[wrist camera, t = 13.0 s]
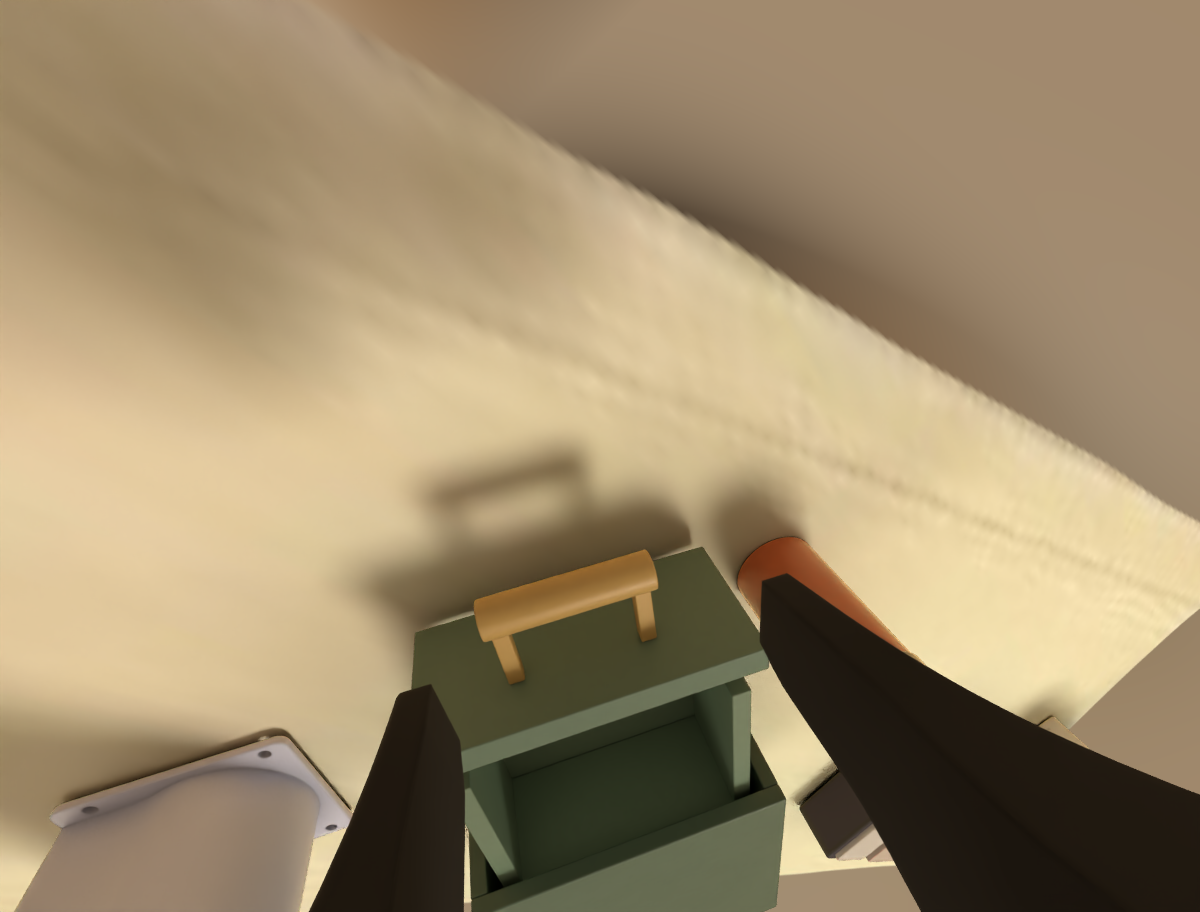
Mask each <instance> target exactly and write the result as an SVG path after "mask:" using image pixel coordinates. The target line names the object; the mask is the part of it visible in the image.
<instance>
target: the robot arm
mask: <svg viewBox="0 0 1200 912" xmlns="http://www.w3.org/2000/svg"><path fill="white" fill-rule="evenodd" d="M760 644H761V646H762V648H763V650H764V652H765V654H766V656H767V658H768V660H769V661H770V663H771V665H772V667H773V669H774V671H775V673H776V675H777V677H778V678H779V680H780V682H781V684H782V686H783V687H784V689H785V690H786V692H787V693H788V695H789V696H790V698H791V699H792V701H793V702H794V704H795V705H796V707H797V708H798V710H799V711H800V713H801V714H802V716H803V717H804V719H805V720H806V722H807V723H808V725H809V726H810V728H811V729H812V731H813V732H814V734H815V735H816V737H817V738H818V739H819V741H820V742H821V744H822V745H823V747H824V748H825V750H826V751H827V753H828V754H829V756H830V757H831V759H832V760H833V762H834V763H835V765H836V766H837V767H838V769H839V770H840V772H841V773H842V775H843V776H844V778H845V779H846V781H847V782H848V784H849V785H850V787H851V788H852V790H853V792H854V793H855V795H856V796H857V798H858V799H859V801H860V803H861V804H862V806H863V807H864V809H865V811H866V813H867V814H868V816H869V818H870V820H871V822H872V823H873V825H874V827H875V829H876V830H877V832H878V834H879V836H880V837H881V839H882V841H883V843H884V845H885V846H886V848H887V850H888V852H889V853H890V855H891V857H892V859H893V861H894V862H895V864H896V866H897V868H898V870H899V872H900V873H901V875H902V877H903V879H904V881H905V883H906V885H907V886H908V888H909V890H910V892H911V894H912V896H913V897H914V899H915V901H916V903H917V905H918V907H919V909H920V910H921V912H1200V795H1199V794H1197V793H1194V792H1191V791H1189V790H1186V789H1183V788H1181V787H1178V786H1176V785H1173V784H1171V783H1168V782H1166V781H1163V780H1161V779H1158V778H1156V777H1153V776H1151V775H1148V774H1146V773H1144V772H1141V771H1139V770H1136V769H1134V768H1131V767H1129V766H1127V765H1124V764H1122V763H1119V762H1117V761H1115V760H1112V759H1110V758H1108V757H1105V756H1103V755H1101V754H1098V753H1096V752H1094V751H1092V750H1090V749H1088V748H1085V747H1083V746H1081V745H1079V744H1077V743H1074V742H1072V741H1070V740H1068V739H1066V738H1063V737H1061V736H1059V735H1057V734H1055V733H1052V732H1050V731H1048V730H1046V729H1044V728H1041V727H1039V726H1037V725H1035V724H1033V723H1031V722H1029V721H1027V720H1025V719H1023V718H1021V717H1019V716H1017V715H1015V714H1013V713H1011V712H1009V711H1007V710H1005V709H1003V708H1001V707H999V706H997V705H995V704H993V703H991V702H989V701H988V700H986V699H984V698H982V697H980V696H978V695H976V694H974V693H972V692H971V691H969V690H967V689H965V688H963V687H962V686H960V685H958V684H956V683H955V682H953V681H951V680H949V679H948V678H946V677H944V676H942V675H941V674H939V673H937V672H936V671H934V670H932V669H931V668H929V667H927V666H926V665H924V664H922V663H921V662H919V661H917V660H916V659H914V658H912V657H911V656H909V655H907V654H906V653H904V652H903V651H901V650H899V649H898V648H896V647H895V646H893V645H892V644H890V643H889V642H887V641H885V640H884V639H882V638H881V637H879V636H878V635H876V634H875V633H873V632H872V631H870V630H869V629H867V628H866V627H864V626H863V625H861V624H860V623H858V622H857V621H855V620H854V619H852V618H851V617H849V616H848V615H846V614H845V613H844V612H842V611H841V610H839V609H838V608H836V607H835V606H833V605H832V604H831V603H829V602H828V601H826V600H825V599H824V598H822V597H821V596H819V595H818V594H816V593H815V592H814V591H812V590H811V589H809V588H808V587H807V586H805V585H804V584H802V583H801V582H800V581H798V580H797V579H795V578H794V577H792V576H791V575H789V574H788V573H785V574H782V575H779V576H776V577H772V578H769V579H766V580H763V581H762V586H761V615H760ZM50 820H51V821H52V822H53V823H54V824H56V825H57V826H59V827H60V828H62V829H61V831H60V833H59V835H58V836H57V838H56V840H55V842H54V843H53V845H52V847H51V849H50V850H49V852H48V854H47V855H46V857H45V859H44V861H43V862H42V864H41V866H40V868H39V869H38V871H37V873H36V875H35V876H34V878H33V880H32V882H31V883H30V885H29V887H28V889H27V890H26V892H25V894H24V895H23V897H22V899H21V901H20V902H19V904H18V906H17V908H16V909H15V911H14V912H300V906H301V901H302V896H303V891H304V886H305V881H306V876H307V871H308V866H309V860H310V855H311V850H312V845H313V840H314V839H315V838H318V837H321V836H323V835H326V834H329V833H332V832H335V831H338V830H341V829H344V828H346V827H347V830H346V832H345V834H344V837H343V839H342V841H341V843H340V845H339V848H338V850H337V852H336V854H335V857H334V859H333V861H332V863H331V865H330V868H329V870H328V872H327V874H326V876H325V879H324V881H323V883H322V885H321V887H320V890H319V892H318V894H317V896H316V898H315V900H314V902H313V904H312V906H311V908H310V910H309V912H464V855H465V788H464V776H463V765H462V754H461V744H460V739H459V737H458V735H457V733H456V731H455V730H454V728H453V726H452V724H451V722H450V720H449V718H448V716H447V714H446V712H445V710H444V708H443V706H442V704H441V702H440V700H439V698H438V696H437V694H436V693H435V691H434V689H433V687H432V685H431V684H428V685H425V686H422V687H418V688H415V689H412V690H409V691H406V692H402V693H400V694H399V695H398V697H397V698H396V701H395V704H394V707H393V710H392V713H391V716H390V718H389V721H388V724H387V727H386V730H385V733H384V736H383V738H382V741H381V744H380V747H379V749H378V752H377V755H376V757H375V760H374V763H373V765H372V768H371V771H370V773H369V776H368V778H367V781H366V783H365V786H364V788H363V791H362V793H361V796H360V798H359V801H358V803H357V805H356V808H355V810H354V813H352V812H351V811H350V810H349V809H348V807H347V806H346V805H345V804H344V803H343V801H342V800H341V799H340V798H339V797H338V796H337V794H336V793H335V792H334V791H333V790H332V788H331V787H330V786H329V785H328V784H327V782H326V781H325V780H324V779H323V778H322V777H321V775H320V774H319V773H318V772H317V771H316V769H315V768H314V767H313V766H312V765H311V764H310V762H309V761H308V760H307V759H306V758H305V756H304V755H303V754H302V753H301V752H300V750H299V749H298V748H297V747H296V746H295V745H294V743H293V742H292V741H291V740H290V739H289V738H288V737H285V736H275V737H271V738H268V739H265V740H262V741H259V742H255V743H252V744H249V745H246V746H243V747H240V748H236V749H233V750H230V751H227V752H224V753H221V754H217V755H214V756H211V757H208V758H205V759H202V760H198V761H195V762H192V763H189V764H186V765H183V766H179V767H176V768H173V769H170V770H167V771H164V772H161V773H157V774H154V775H151V776H148V777H145V778H142V779H138V780H135V781H132V782H129V783H126V784H123V785H119V786H116V787H113V788H110V789H107V790H104V791H100V792H97V793H94V794H91V795H88V796H85V797H81V798H78V799H75V800H72V801H69V802H66V803H63V804H60V805H58V806H56V807H55V809H54V810H53V812H52V813H51V815H50Z"/></svg>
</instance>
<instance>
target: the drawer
mask: <svg viewBox="0 0 1200 912" xmlns="http://www.w3.org/2000/svg"><path fill="white" fill-rule="evenodd" d="M474 613H475V615H472V616H469V617H465V618H462V619H459V620H455V621H452V622H449V623H445V624H442V625H439V626H435V627H432V628H429V629H425V630H422V631H419V632H416V633H415V643H414V659H413V674H412V689H415V688H418V687H422V686H425V685H428V684H431V685H432V687H433V689H434V691H435V693H436V694H437V696H438V698H439V700H440V702H441V704H442V706H443V708H444V710H445V712H446V714H447V716H448V718H449V720H450V722H451V724H452V726H453V728H454V730H455V731H456V733H457V735H458V737H459V739H460V744H461V754H462V765H463V776H464V788H465V825H466V826H467V828H468V829H469V831H470V833H471V834H472V836H473V838H474V839H475V841H476V843H477V844H478V846H479V847H480V849H481V851H482V852H483V854H484V856H485V857H486V859H487V860H488V862H489V864H490V865H491V867H492V869H493V870H494V872H495V873H496V875H497V877H498V878H499V880H500V882H501V883H502V885H503V887H504V888H505V887H507V886H510V885H513V884H515V883H518V882H520V881H523V880H526V879H528V878H531V877H534V876H536V875H539V874H542V873H544V872H547V871H550V870H552V869H555V868H557V867H560V866H563V865H565V864H568V863H571V862H573V861H576V860H579V859H581V858H584V857H587V856H589V855H592V854H595V853H597V852H600V851H602V850H605V849H608V848H610V847H613V846H616V845H618V844H621V843H624V842H626V841H629V840H632V839H634V838H637V837H640V836H642V835H645V834H647V833H650V832H653V831H655V830H658V829H661V828H663V827H666V826H669V825H671V824H674V823H677V822H679V821H682V820H685V819H687V818H690V817H692V816H695V815H698V814H700V813H703V812H706V811H708V810H711V809H714V808H716V807H719V806H722V805H724V804H727V803H730V802H732V801H735V800H737V799H740V798H743V797H745V796H748V795H750V733H751V689H750V687H749V686H748V684H747V682H746V680H745V679H744V676H747V675H750V674H753V673H756V672H759V671H762V670H765V669H768V668H769V660H768V658H767V656H766V654H765V652H764V650H763V648H762V646H761V644H760V633H759V631H758V630H757V628H756V627H755V625H754V624H753V622H752V621H751V619H750V618H749V616H748V615H747V613H746V612H745V610H744V609H743V607H742V606H741V604H740V603H739V601H738V600H737V598H736V597H735V595H734V594H733V592H732V591H731V589H730V587H729V586H728V584H727V583H726V581H725V580H724V578H723V577H722V575H721V574H720V572H719V571H718V569H717V568H716V566H715V565H714V563H713V562H712V560H711V559H710V557H709V556H708V554H707V553H706V551H705V550H704V548H703V547H699V548H695V549H692V550H689V551H685V552H682V553H679V554H675V555H672V556H669V557H665V558H662V559H659V560H655V561H652V559H651V556H650V554H649V553H648V552H647V550H641V551H638V552H634V553H631V554H628V555H624V556H621V557H618V558H614V559H611V560H607V561H604V562H601V563H597V564H594V565H591V566H587V567H584V568H580V569H577V570H574V571H570V572H567V573H563V574H560V575H557V576H553V577H550V578H547V579H543V580H540V581H536V582H533V583H530V584H526V585H523V586H520V587H516V588H513V589H509V590H506V591H503V592H499V593H496V594H493V595H489V596H486V597H482V598H479V599H476V600H475V601H474ZM412 689H411V690H412Z"/></svg>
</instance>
